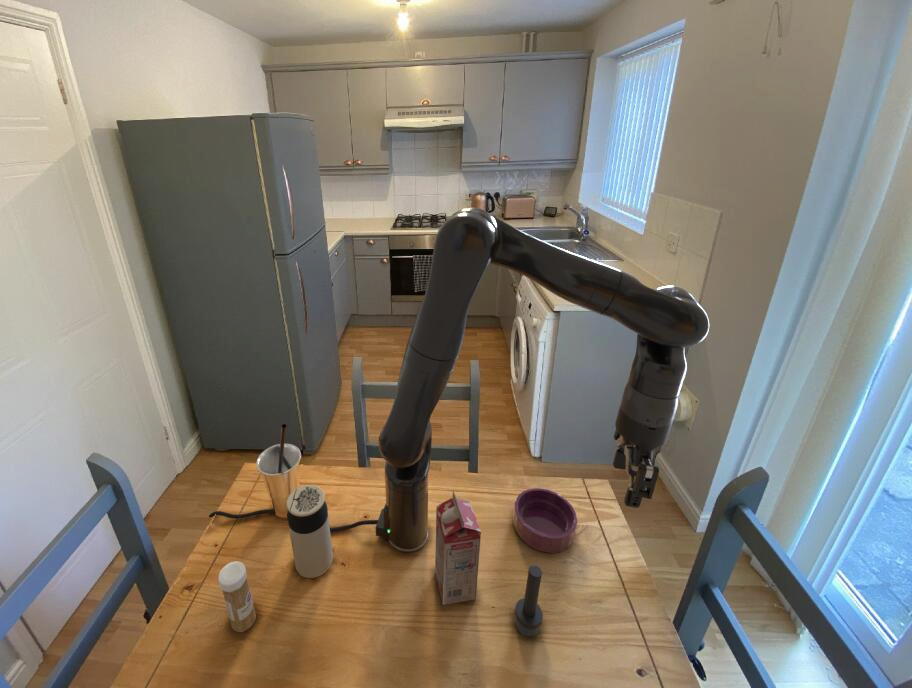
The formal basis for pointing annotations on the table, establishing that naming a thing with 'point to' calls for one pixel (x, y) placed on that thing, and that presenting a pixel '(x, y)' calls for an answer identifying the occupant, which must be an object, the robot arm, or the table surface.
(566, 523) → the bowl
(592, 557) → the table surface
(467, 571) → the juice carton
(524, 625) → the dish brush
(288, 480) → the metal cup with straw
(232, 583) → the sprinkles bottle
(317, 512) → the travel mug
